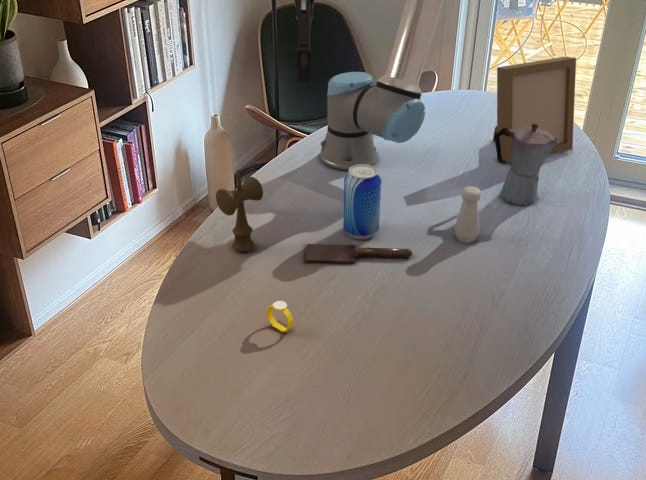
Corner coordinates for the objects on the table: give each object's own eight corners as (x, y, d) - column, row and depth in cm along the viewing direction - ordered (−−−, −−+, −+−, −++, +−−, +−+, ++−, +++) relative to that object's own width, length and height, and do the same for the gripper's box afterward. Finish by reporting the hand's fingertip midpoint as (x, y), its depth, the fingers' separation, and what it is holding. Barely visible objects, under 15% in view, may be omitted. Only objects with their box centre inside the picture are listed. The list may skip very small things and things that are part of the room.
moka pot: (547, 210, 203) (562, 135, 191) (485, 203, 206) (495, 129, 193) (547, 191, 211) (561, 118, 199) (487, 185, 213) (497, 112, 201)
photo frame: (571, 152, 229) (589, 65, 214) (505, 166, 222) (518, 76, 207) (540, 131, 240) (555, 46, 225) (476, 144, 233) (487, 57, 218)
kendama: (218, 251, 186) (211, 172, 174) (249, 235, 192) (245, 157, 180) (236, 261, 183) (230, 181, 171) (267, 244, 189) (264, 165, 177)
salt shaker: (463, 229, 195) (470, 180, 188) (483, 238, 192) (490, 189, 184) (448, 238, 192) (453, 188, 184) (467, 247, 189) (474, 198, 181)
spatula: (411, 248, 188) (411, 241, 187) (412, 265, 183) (413, 257, 182) (306, 246, 189) (306, 239, 187) (305, 262, 183) (305, 255, 182)
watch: (264, 325, 165) (263, 301, 161) (273, 319, 166) (272, 295, 163) (286, 337, 162) (285, 313, 158) (295, 331, 163) (295, 307, 160)
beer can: (359, 245, 189) (362, 183, 180) (335, 230, 194) (336, 169, 185) (385, 232, 194) (389, 171, 184) (361, 218, 199) (364, 158, 189)
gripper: (288, -50, 174) (290, 49, 187) (282, -17, 154) (285, 91, 167) (323, -50, 174) (323, 49, 187) (322, -17, 154) (322, 91, 167)
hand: (305, 69), depth 177 cm, fingers open, 13 cm apart
